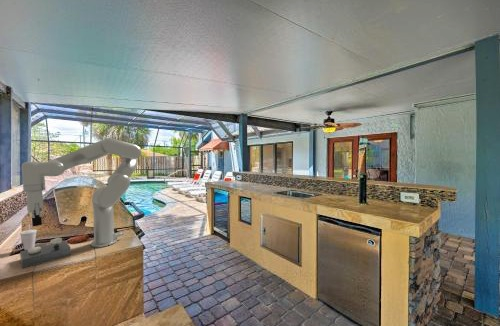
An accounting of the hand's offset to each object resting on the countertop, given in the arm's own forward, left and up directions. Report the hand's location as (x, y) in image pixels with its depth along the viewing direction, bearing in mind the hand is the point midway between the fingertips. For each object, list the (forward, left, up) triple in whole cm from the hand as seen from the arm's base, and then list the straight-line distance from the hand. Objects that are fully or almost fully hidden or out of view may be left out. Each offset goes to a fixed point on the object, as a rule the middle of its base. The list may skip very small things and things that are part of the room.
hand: (37, 225), depth 106 cm
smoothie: (+2, -18, -17) cm, 25 cm away
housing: (-3, 0, -17) cm, 17 cm away
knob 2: (-7, 0, -13) cm, 14 cm away
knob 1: (+1, 0, -15) cm, 15 cm away
